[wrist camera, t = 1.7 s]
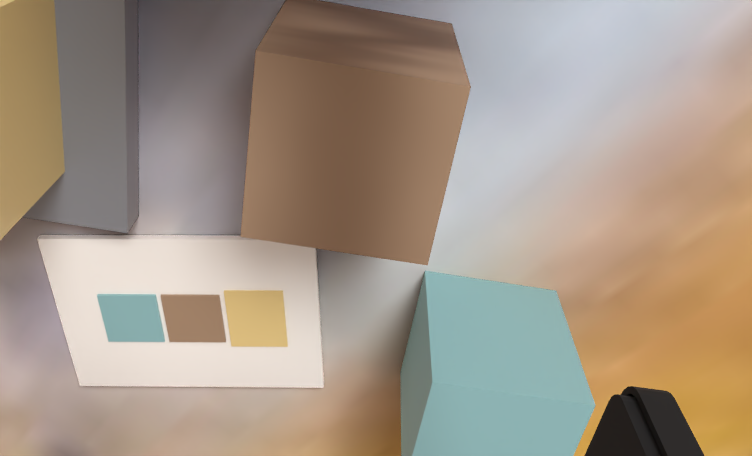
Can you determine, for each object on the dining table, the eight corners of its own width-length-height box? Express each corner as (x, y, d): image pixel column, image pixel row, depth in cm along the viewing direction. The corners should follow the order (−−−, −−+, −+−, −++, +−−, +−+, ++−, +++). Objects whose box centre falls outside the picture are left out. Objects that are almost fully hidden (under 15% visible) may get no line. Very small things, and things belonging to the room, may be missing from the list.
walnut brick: (451, 23, 21) (470, 86, 16) (419, 169, 24) (427, 265, 19) (289, -6, 21) (255, 50, 16) (273, 146, 24) (240, 236, 18)
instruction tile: (315, 235, 25) (314, 241, 25) (324, 382, 29) (323, 389, 28) (40, 234, 25) (35, 240, 25) (82, 380, 29) (78, 387, 29)
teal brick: (555, 290, 26) (595, 405, 21) (520, 388, 29) (547, 513, 24) (425, 270, 26) (432, 382, 21) (400, 371, 28) (401, 494, 23)
